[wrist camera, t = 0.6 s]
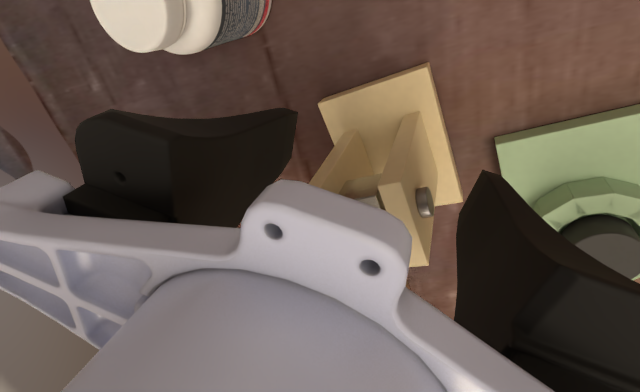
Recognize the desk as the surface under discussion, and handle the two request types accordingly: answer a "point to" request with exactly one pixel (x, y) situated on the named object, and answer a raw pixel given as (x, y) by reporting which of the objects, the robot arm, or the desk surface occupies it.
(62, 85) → the desk surface
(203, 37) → the pill bottle
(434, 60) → the desk surface
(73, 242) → the robot arm
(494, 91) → the desk surface
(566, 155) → the button box
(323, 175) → the bracket
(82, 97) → the desk surface
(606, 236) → the button
